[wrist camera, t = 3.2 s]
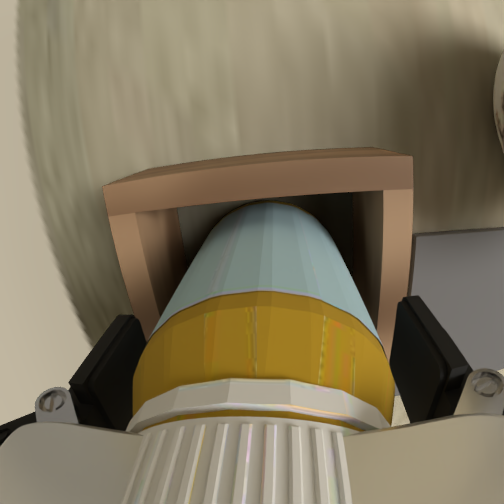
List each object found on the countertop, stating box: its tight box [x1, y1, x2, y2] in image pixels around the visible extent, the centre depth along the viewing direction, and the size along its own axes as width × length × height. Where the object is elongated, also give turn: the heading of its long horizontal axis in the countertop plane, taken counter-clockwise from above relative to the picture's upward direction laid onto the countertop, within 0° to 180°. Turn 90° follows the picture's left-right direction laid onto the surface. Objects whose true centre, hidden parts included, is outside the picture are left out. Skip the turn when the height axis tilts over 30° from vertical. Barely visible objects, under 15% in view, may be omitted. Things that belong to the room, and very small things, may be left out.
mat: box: [394, 227, 504, 396], centre depth 17 cm, size 12×12×1 cm
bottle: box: [121, 200, 395, 504], centre depth 10 cm, size 7×7×15 cm
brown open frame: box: [102, 147, 413, 363], centre depth 15 cm, size 11×11×5 cm
